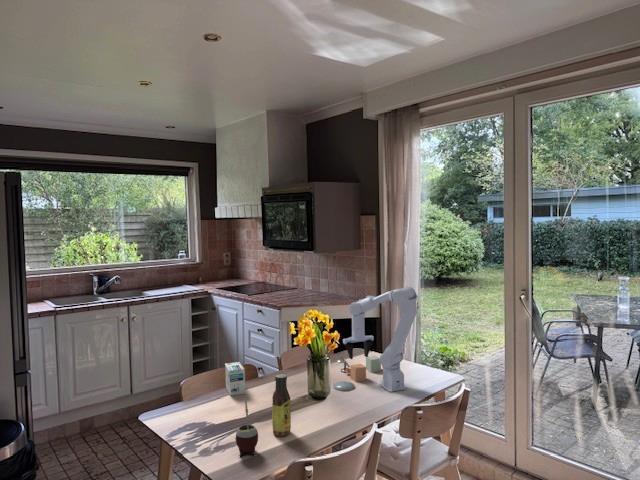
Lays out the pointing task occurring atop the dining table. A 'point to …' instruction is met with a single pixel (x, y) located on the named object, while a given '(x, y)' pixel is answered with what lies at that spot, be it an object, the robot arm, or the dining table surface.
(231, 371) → the light bulb box
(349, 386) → the saucer
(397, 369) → the robot arm
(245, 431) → the mate gourd
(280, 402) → the sauce bottle
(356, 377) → the peach matte cube
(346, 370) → the balance
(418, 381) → the dining table surface
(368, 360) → the sage green cube
